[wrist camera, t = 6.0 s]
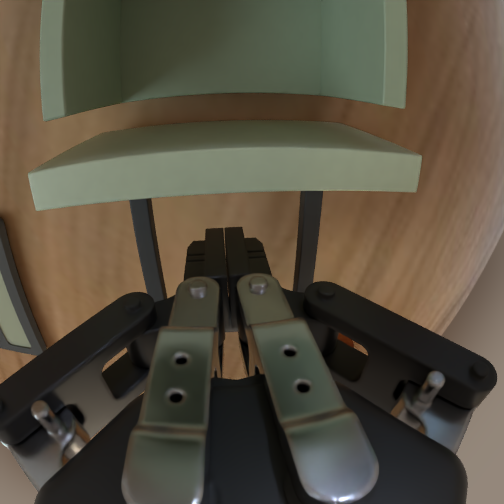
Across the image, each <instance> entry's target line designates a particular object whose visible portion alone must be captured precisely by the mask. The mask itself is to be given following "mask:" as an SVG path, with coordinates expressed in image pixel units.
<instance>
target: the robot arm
mask: <svg viewBox="0 0 504 504" xmlns="http://www.w3.org/2000/svg"><path fill="white" fill-rule="evenodd" d="M225 251H226V258H225ZM227 282H228V285H227ZM228 293H229V303H228ZM229 304H230V315H231V325H232V329H237V328H238V334H239V348H240V352H241V357H242V361H243V365H244V370H245V374H246V378H243V379H239V380H231V379H224V378H223V370H224V340H225V329H230V321H229ZM339 333H341V334H342V335H344V336H346V337H348V338H350V339H351V340H353V341H355V342H357V343H358V344H360V345H362V346H363V347H364V348H365V349H366V350H367V352H368V356H367V355H365V354H364V353H362V352H360V351H358V350H357V349H355V348H353V347H351V346H350V345H348V344H346V343H344V342H343V341H341V340H339V339H338V335H339ZM125 347H126V348H127V351H128V352H127V353H125V354H124V355H123V356H122V357H120V358H119V359H118V360H117V361H116V362H114V363H113V364H112V365H111V366H109V367H108V368H107V369H106V370H105V371H103V372H102V369H103V367H104V365H105V364H106V363H107V362H108V361H109V360H110V359H112V358H113V357H114V356H115V355H117V354H118V353H119V352H120V351H122V350H123V349H124V348H125ZM496 382H497V373H496V370H495V368H494V367H493V365H492V364H491V363H490V362H489V361H488V360H486V359H485V358H483V357H481V356H480V355H478V354H476V353H474V352H471V351H470V350H468V349H466V348H464V347H462V346H460V345H458V344H456V343H454V342H452V341H450V340H448V339H446V338H444V337H442V336H440V335H438V334H436V333H434V332H432V331H430V330H428V329H426V328H424V327H422V326H420V325H418V324H416V323H414V322H412V321H410V320H408V319H406V318H404V317H402V316H400V315H398V314H396V313H394V312H392V311H390V310H388V309H386V308H384V307H382V306H380V305H378V304H376V303H374V302H372V301H370V300H368V299H366V298H364V297H362V296H360V295H358V294H355V293H353V292H351V291H349V290H347V289H345V288H343V287H341V286H339V285H337V284H335V283H332V282H325V281H320V282H315V283H312V284H310V285H309V286H307V288H306V289H305V293H303V292H295V291H290V290H286V289H284V288H282V287H281V286H280V284H279V282H278V280H277V279H276V278H274V277H273V276H272V274H271V271H270V267H269V264H268V261H267V258H266V254H265V252H264V247H263V244H262V243H261V242H260V241H259V240H258V239H256V238H244V234H243V229H242V227H228V228H225V246H224V233H223V228H210V229H206V233H205V240H204V241H193V242H192V243H191V244H190V246H189V247H188V249H187V257H186V265H185V273H184V281H183V282H182V283H180V284H179V286H178V288H177V291H176V295H174V296H172V297H170V298H168V299H165V300H161V301H157V302H154V299H153V298H152V297H151V296H150V295H149V294H146V293H143V292H133V293H129V294H126V295H123V296H122V297H120V298H118V299H117V300H116V301H114V302H113V303H111V304H110V305H108V306H107V307H105V308H104V309H103V310H101V311H100V312H98V313H97V314H95V315H94V316H93V317H91V318H90V319H88V320H87V321H86V322H84V323H83V324H81V325H80V326H78V327H77V328H76V329H74V330H73V331H71V332H70V333H69V334H67V335H66V336H64V337H63V338H62V339H60V340H59V341H58V342H56V343H55V344H53V345H52V346H51V347H49V348H48V349H47V350H45V351H44V352H42V353H41V354H40V355H38V356H37V357H36V358H34V359H33V360H32V361H30V362H29V363H28V364H26V365H25V366H24V367H22V368H21V369H20V370H18V371H17V372H16V373H14V374H13V375H12V376H10V377H9V378H8V379H6V380H5V381H4V382H3V383H1V384H0V442H1V443H2V444H3V445H5V446H6V447H7V448H8V449H9V450H10V451H11V453H12V454H13V456H14V457H15V459H16V461H17V462H18V464H19V465H20V467H21V468H22V470H23V471H24V473H25V474H26V476H27V477H28V479H29V480H30V481H31V482H32V484H33V485H34V487H35V488H36V489H37V491H38V494H37V496H36V499H35V503H34V504H466V496H467V487H468V482H467V475H466V471H465V468H464V466H463V464H462V462H461V461H460V459H459V458H458V457H457V455H456V452H457V451H458V449H459V446H460V444H461V441H462V439H463V437H464V434H465V432H466V430H467V427H468V424H469V422H470V419H471V417H472V414H473V412H474V411H475V410H476V408H477V407H478V406H479V405H480V404H481V402H482V401H483V400H484V399H485V398H486V396H487V395H488V394H489V393H490V391H491V390H492V389H493V388H494V386H495V385H496ZM144 390H145V392H144V393H143V394H141V393H142V392H143V391H144ZM140 394H141V395H140ZM139 395H140V396H139ZM103 427H104V428H103ZM102 428H103V429H102ZM101 429H102V430H101ZM100 430H101V431H100ZM99 431H100V432H99ZM98 432H99V433H98ZM97 433H98V434H97ZM95 434H97V435H96V436H95V437H94V438H93V439H92V440H90V439H91V438H92V437H93V436H94V435H95Z"/></svg>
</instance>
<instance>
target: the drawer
mask: <svg viewBox="0 0 504 504" xmlns="http://www.w3.org/2000/svg"><path fill="white" fill-rule="evenodd" d="M407 60H408V29H407V3H406V0H43V1H42V12H41V29H40V82H41V99H42V111H43V120H44V121H50V120H54V119H58V118H62V117H66V116H69V115H73V114H77V113H80V112H84V111H88V110H92V109H96V108H101V107H105V106H110V105H114V104H119V103H125V102H131V101H139V100H146V99H154V98H163V97H173V96H185V95H199V94H219V93H286V94H306V95H320V96H328V97H336V98H343V99H350V100H356V101H362V102H368V103H373V104H378V105H384V106H390V107H396V108H402V109H404V108H405V103H406V87H407ZM421 163H422V156H421V155H419V154H417V153H415V152H413V151H410V150H408V149H406V148H404V147H401V146H399V145H397V144H394V143H392V142H389V141H387V140H384V139H382V138H379V137H377V136H374V135H372V134H369V133H367V132H364V131H361V130H359V129H356V128H353V127H350V126H347V125H345V124H342V123H335V122H319V121H297V120H228V121H206V122H190V123H177V124H166V125H156V126H147V127H139V128H131V129H124V130H117V131H110V132H104V133H101V134H99V135H97V136H95V137H93V138H91V139H89V140H87V141H85V142H83V143H81V144H79V145H77V146H75V147H73V148H71V149H69V150H67V151H65V152H64V153H62V154H60V155H58V156H56V157H54V158H53V159H51V160H49V161H47V162H46V163H44V164H42V165H41V166H39V167H37V168H35V169H34V170H32V171H31V172H29V173H28V177H29V182H30V187H31V191H32V196H33V200H34V204H35V208H36V211H41V210H48V209H55V208H63V207H71V206H79V205H87V204H96V203H105V202H115V201H125V200H129V201H130V207H131V214H132V220H133V225H134V231H135V236H136V242H137V247H138V252H139V257H140V262H141V267H142V271H143V276H144V280H145V285H146V289H147V293H148V294H149V295H150V296H151V297H152V298H153V299H154V302H157V301H161V300H165V299H167V293H166V288H165V283H164V278H163V272H162V267H161V261H160V255H159V249H158V243H157V236H156V230H155V223H154V216H153V209H152V201H151V198H159V197H172V196H186V195H202V194H220V193H241V192H270V191H301V195H300V210H299V224H298V238H297V250H296V262H295V273H294V284H293V291H295V292H303V293H305V289H306V288H307V286H309V285H310V284H312V283H313V277H314V269H315V262H316V253H317V245H318V236H319V227H320V217H321V207H322V196H323V191H391V192H416V191H417V187H418V181H419V175H420V169H421ZM228 303H229V297H228ZM229 321H230V329H225V332H237V331H238V328H237V329H232V325H231V315H230V304H229Z"/></svg>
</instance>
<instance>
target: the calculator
mask: <svg viewBox="0 0 504 504" xmlns="http://www.w3.org/2000/svg"><path fill="white" fill-rule="evenodd" d="M0 348H2V349H7V350H12V351H16V352H21V353H26V354H31V355H37V356H38V355H40V354H41V353H42V352H44V351H45V350H46V349H47V348H46V345H45V343H44V341H43V339H42V336H41V334H40V332H39V329H38V327H37V325H36V322H35V320H34V317H33V315H32V312H31V310H30V307H29V304H28V302H27V299H26V296H25V293H24V291H23V288H22V285H21V282H20V279H19V276H18V273H17V269H16V266H15V263H14V259H13V256H12V252H11V249H10V245H9V241H8V237H7V233H6V229H5V225H4V222H3V220H2V219H1V218H0Z"/></svg>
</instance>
